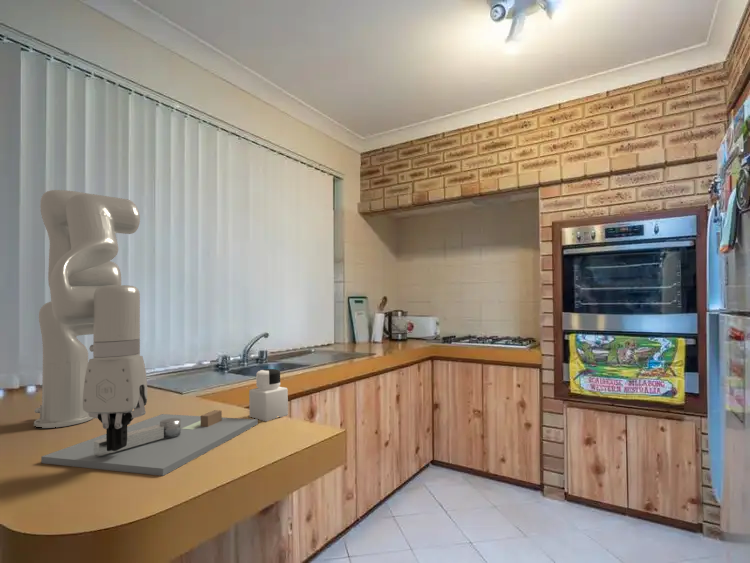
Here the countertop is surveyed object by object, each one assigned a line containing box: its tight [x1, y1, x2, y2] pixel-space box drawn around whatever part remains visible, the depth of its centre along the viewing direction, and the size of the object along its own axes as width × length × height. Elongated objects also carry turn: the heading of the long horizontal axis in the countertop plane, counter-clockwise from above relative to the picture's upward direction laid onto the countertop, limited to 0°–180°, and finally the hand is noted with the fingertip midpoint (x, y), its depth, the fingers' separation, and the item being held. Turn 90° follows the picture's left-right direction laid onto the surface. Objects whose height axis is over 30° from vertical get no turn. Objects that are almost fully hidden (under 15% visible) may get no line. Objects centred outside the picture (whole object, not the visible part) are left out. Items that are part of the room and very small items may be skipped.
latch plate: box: [40, 409, 259, 477], centre depth 89 cm, size 28×30×4 cm
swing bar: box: [94, 418, 181, 456], centre depth 83 cm, size 16×4×3 cm, turn 144°
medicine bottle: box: [248, 368, 289, 422], centre depth 106 cm, size 7×7×12 cm
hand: (116, 448), depth 77 cm, fingers closed
